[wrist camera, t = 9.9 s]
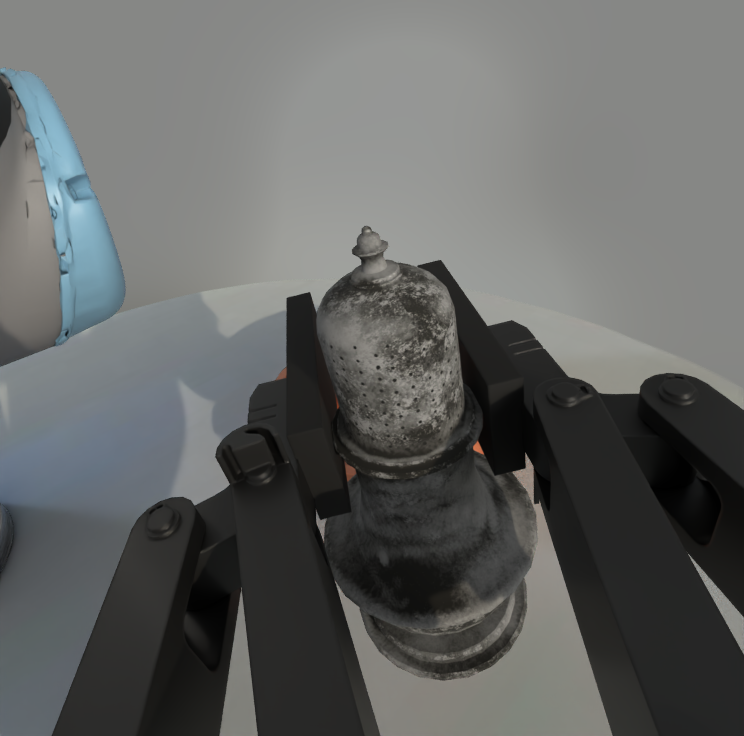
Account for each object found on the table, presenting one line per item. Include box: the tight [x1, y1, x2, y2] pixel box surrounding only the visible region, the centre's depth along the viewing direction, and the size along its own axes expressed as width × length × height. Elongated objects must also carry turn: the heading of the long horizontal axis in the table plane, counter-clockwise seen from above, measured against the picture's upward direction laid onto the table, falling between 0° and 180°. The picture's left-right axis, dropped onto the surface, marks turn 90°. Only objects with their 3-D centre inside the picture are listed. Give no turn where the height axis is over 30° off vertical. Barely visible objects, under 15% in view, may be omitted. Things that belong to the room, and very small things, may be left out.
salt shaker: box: [316, 226, 538, 680], centre depth 12 cm, size 6×6×12 cm
